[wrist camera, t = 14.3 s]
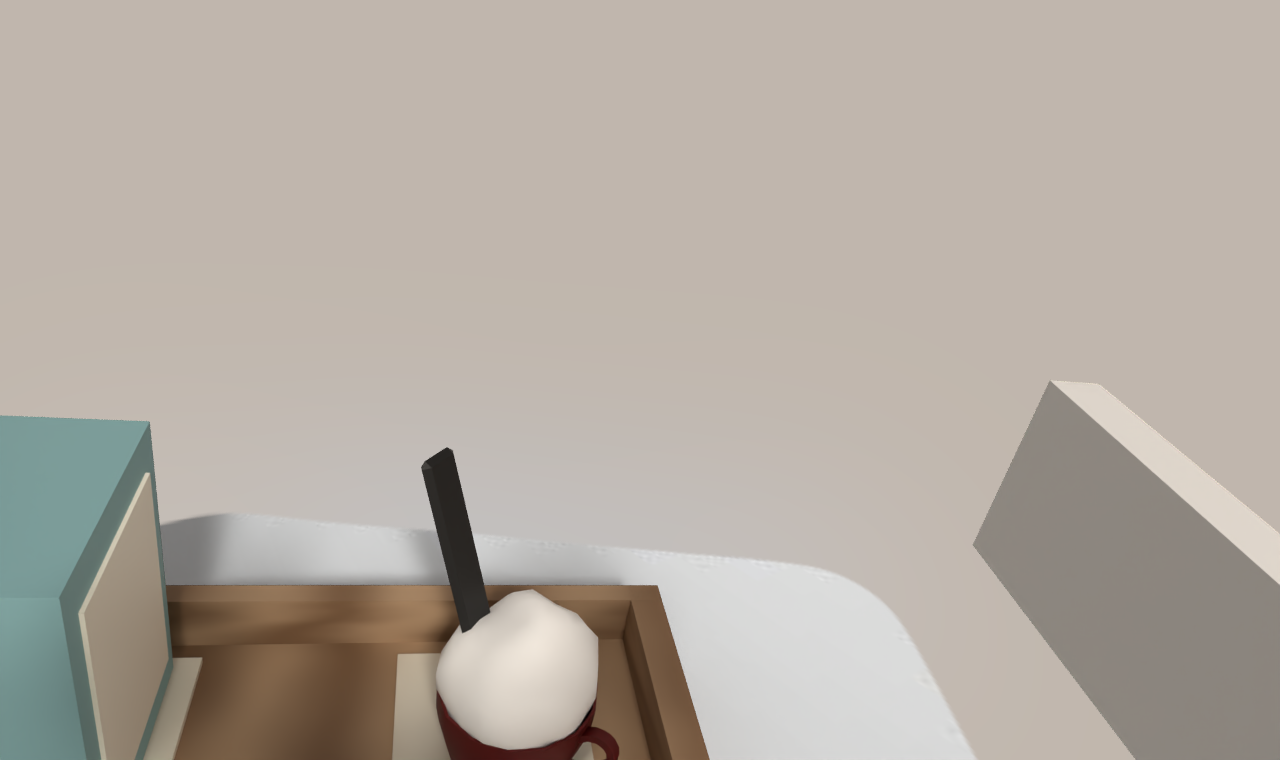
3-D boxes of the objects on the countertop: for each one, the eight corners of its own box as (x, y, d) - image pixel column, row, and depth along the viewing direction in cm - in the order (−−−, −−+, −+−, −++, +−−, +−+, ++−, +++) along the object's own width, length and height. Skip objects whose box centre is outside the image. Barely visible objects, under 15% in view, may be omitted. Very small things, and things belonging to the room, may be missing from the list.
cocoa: (627, 794, 37) (704, 568, 31) (493, 873, 32) (554, 628, 27) (502, 637, 42) (548, 422, 37) (376, 687, 38) (405, 454, 33)
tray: (-231, 989, 28) (-275, 900, 26) (-40, 666, 39) (-59, 585, 37) (705, 904, 35) (730, 829, 33) (641, 653, 46) (657, 585, 44)
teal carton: (-107, 888, 29) (-208, 598, 23) (9, 670, 36) (-46, 413, 31) (110, 872, 30) (65, 597, 25) (177, 666, 38) (154, 421, 32)
